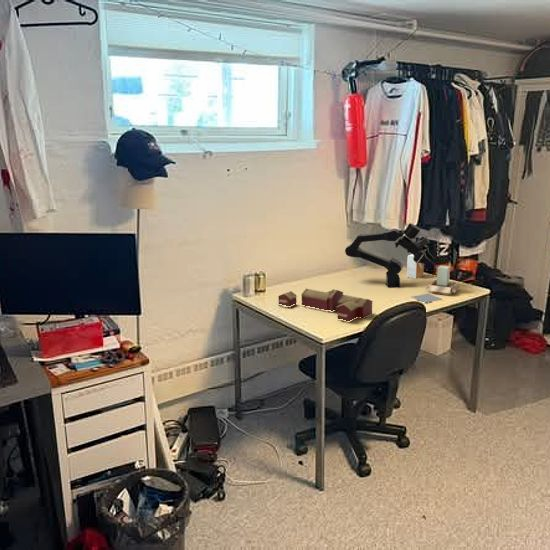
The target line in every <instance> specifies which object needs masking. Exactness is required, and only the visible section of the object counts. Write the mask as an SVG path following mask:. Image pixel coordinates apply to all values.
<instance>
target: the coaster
mask: <svg viewBox="0 0 550 550" xmlns="http://www.w3.org/2000/svg"><path fill="white" fill-rule="evenodd" d="M411 298H413V299H415V300H416V301H418V302H420V301H421V302H420V303H422V302H425V303H426V304H429V303H428V302H431V303H433V302H437V301H442V300H443V298H441V297H439V296H436V295H433V294H432V293H425V294H424V293H423V294H419V295H413V296H411ZM425 303H424V304H425Z"/></svg>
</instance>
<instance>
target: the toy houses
mask: <svg viewBox="0 0 550 550" xmlns="http://www.w3.org/2000/svg"><path fill="white" fill-rule="evenodd" d="M277 298H278V305H279V304H282V305H286V306H291V305H293V304H296V303H297V298H298V295H297V294H296V293H294V292H293V291H292V290H291V291H287V292H285V293H283V294H280V295H277ZM373 302H374V301H373V300H371V299H368V298H363V297H359V296H352V295H348V294H347V295H346V294H344V291H341V290H339V289H332V290H329V291H326V292H325V291H322V290H321V291H320V290H316V289H315V290H314V289H311V288H305V289H304V290H303V292H302V293H301V306H302V305H305V306H310V307H315V308H319V309H324V310H331V311H333V310H336V309H337V310H336V312H337V314H336V315H337V318H338V319H343V320H346V321H350V320H352V319H354V318H356V317H361V318H364V317H366V316H368V315H369V316H371V315H373ZM370 314H371V315H370ZM369 316H368V317H369ZM361 318H360V319H361ZM366 318H367V317H366ZM364 319H365V318H364Z"/></svg>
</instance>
